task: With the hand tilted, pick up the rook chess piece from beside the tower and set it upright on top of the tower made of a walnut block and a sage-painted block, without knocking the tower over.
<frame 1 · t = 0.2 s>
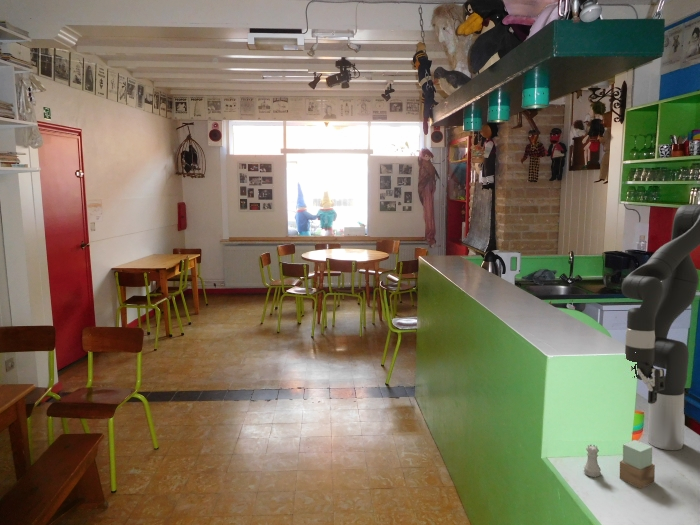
hand: (638, 398, 153), 18 cm above the table, tool pointing down, fingers open, 8 cm apart
rook chess piece: (592, 474, 147), on the table
walnut base block: (636, 480, 142), on the table, touching sage top block
sage top block: (637, 463, 142), point 5 cm above the table, touching walnut base block
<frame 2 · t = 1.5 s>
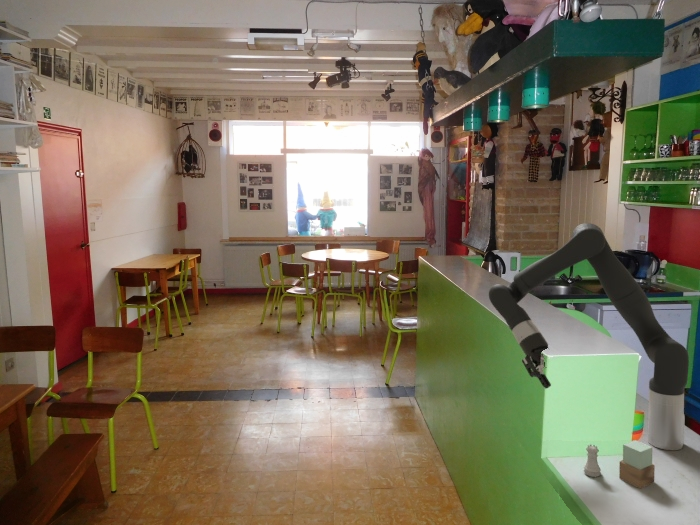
hand: (559, 384, 154), 22 cm above the table, tool tilted 45°, fingers open, 8 cm apart
nothing on the table moved.
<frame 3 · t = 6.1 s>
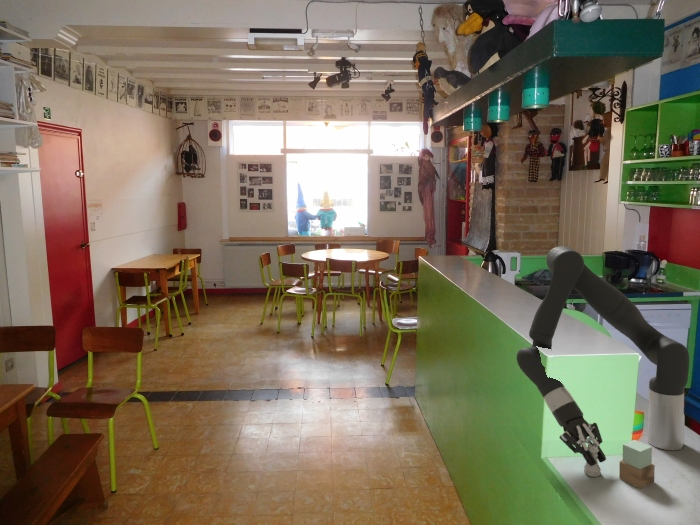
hand: (598, 462, 144), 4 cm above the table, tool tilted 45°, fingers closed on rook chess piece, 3 cm apart
rook chess piece: (592, 474, 147), on the table, touching gripper
everything else where it was.
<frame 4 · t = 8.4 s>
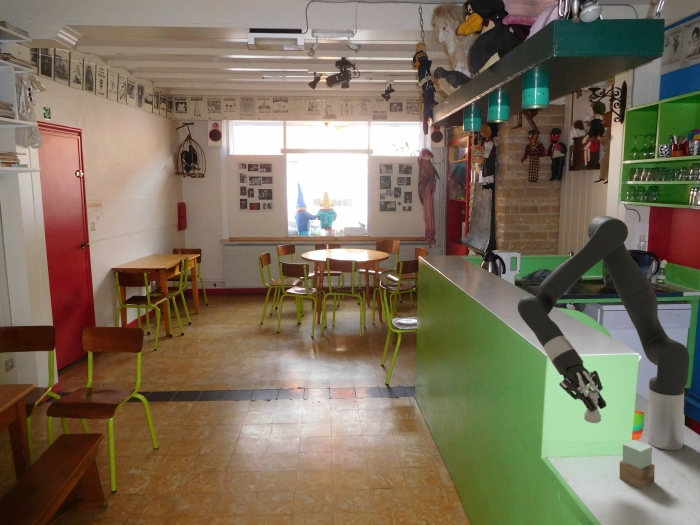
hand: (598, 408, 143), 20 cm above the table, tool tilted 45°, fingers closed on rook chess piece, 3 cm apart
rook chess piece: (592, 420, 145), point 15 cm above the table, touching gripper
everything else where it was.
when the fingers open (15 cm above the table, at t = 10.9 s): rook chess piece drops 1 cm, resting on sage top block.
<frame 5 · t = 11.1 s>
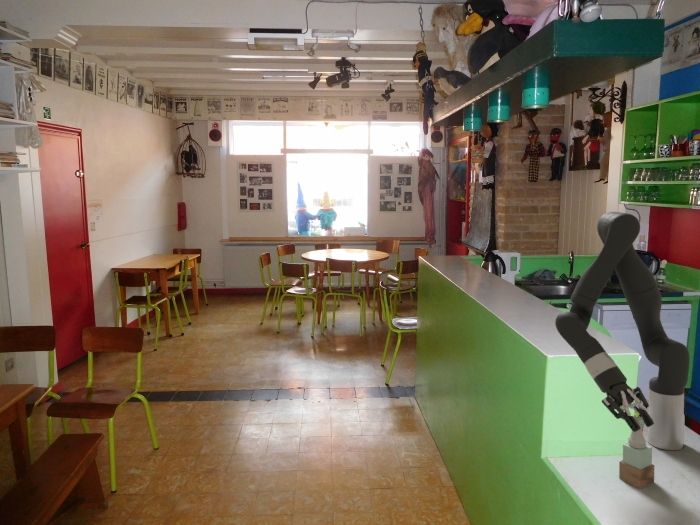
hand: (644, 427, 139), 16 cm above the table, tool tilted 45°, fingers open, 5 cm apart
rook chess piece: (636, 446, 141), point 10 cm above the table, touching sage top block
sage top block: (637, 463, 142), point 5 cm above the table, touching rook chess piece, walnut base block
everything else where it was.
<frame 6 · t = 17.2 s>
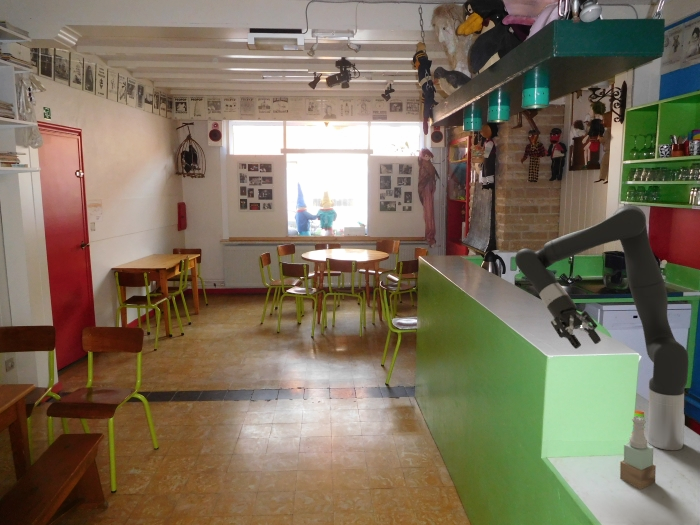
hand: (588, 344, 154), 34 cm above the table, tool tilted 45°, fingers open, 8 cm apart
nothing on the table moved.
at the end: rook chess piece 0.1 cm off-centre on the sage top block, point 4.8 cm above the sage top block's base; rook chess piece tilted 1°; sage top block point 4.9 cm above the table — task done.
